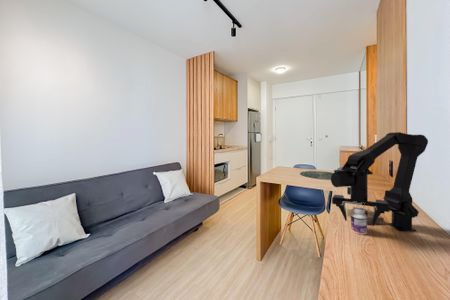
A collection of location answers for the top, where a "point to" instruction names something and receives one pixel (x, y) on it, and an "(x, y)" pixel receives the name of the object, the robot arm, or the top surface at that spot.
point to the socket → (368, 216)
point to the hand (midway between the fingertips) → (358, 222)
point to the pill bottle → (359, 221)
